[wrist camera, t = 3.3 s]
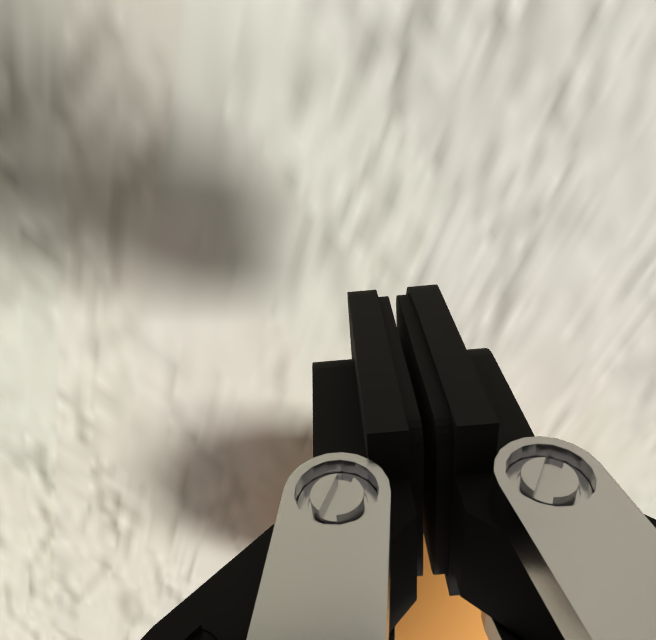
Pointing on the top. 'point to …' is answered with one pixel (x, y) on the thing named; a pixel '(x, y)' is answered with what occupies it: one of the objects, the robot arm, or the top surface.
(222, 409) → the top surface
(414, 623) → the ball
